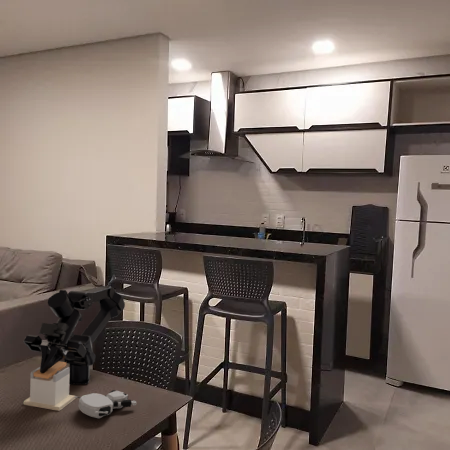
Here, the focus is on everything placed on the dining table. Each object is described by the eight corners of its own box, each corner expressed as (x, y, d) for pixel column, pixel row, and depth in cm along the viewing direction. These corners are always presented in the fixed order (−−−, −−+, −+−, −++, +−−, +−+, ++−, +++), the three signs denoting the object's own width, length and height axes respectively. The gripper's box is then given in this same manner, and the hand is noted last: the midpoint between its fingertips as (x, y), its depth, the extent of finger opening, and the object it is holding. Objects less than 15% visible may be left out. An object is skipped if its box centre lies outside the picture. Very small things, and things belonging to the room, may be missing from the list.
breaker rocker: (52, 365, 136) (52, 360, 136) (66, 368, 135) (66, 362, 135) (33, 378, 128) (33, 373, 128) (48, 381, 127) (48, 375, 126)
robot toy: (115, 398, 138) (71, 410, 127) (117, 384, 138) (72, 394, 127) (138, 413, 129) (92, 426, 119) (139, 398, 129) (93, 410, 119)
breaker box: (40, 393, 137) (41, 362, 137) (75, 398, 134) (75, 367, 134) (23, 404, 129) (24, 372, 129) (59, 410, 127) (60, 377, 126)
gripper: (28, 308, 134) (0, 355, 124) (82, 314, 130) (58, 363, 119) (43, 327, 142) (18, 373, 132) (95, 334, 138) (74, 381, 127)
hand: (41, 372), depth 127 cm, fingers closed, pressing on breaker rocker
